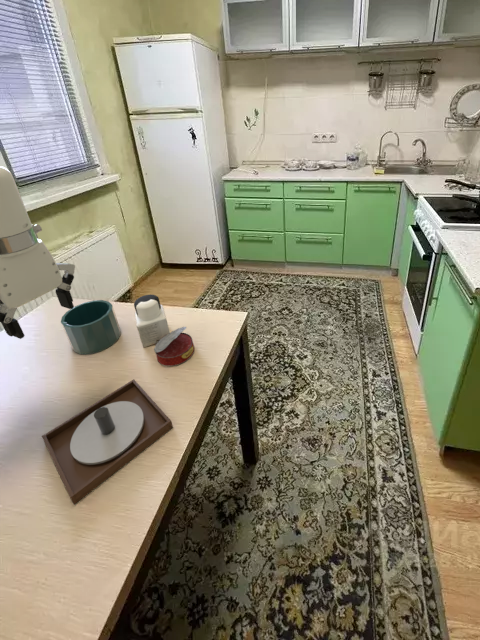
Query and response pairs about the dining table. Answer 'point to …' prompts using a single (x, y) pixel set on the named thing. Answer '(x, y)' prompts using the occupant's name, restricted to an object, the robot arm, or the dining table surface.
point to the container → (150, 319)
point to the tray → (88, 477)
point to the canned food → (174, 348)
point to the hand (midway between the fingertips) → (44, 320)
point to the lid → (107, 433)
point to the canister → (91, 326)
